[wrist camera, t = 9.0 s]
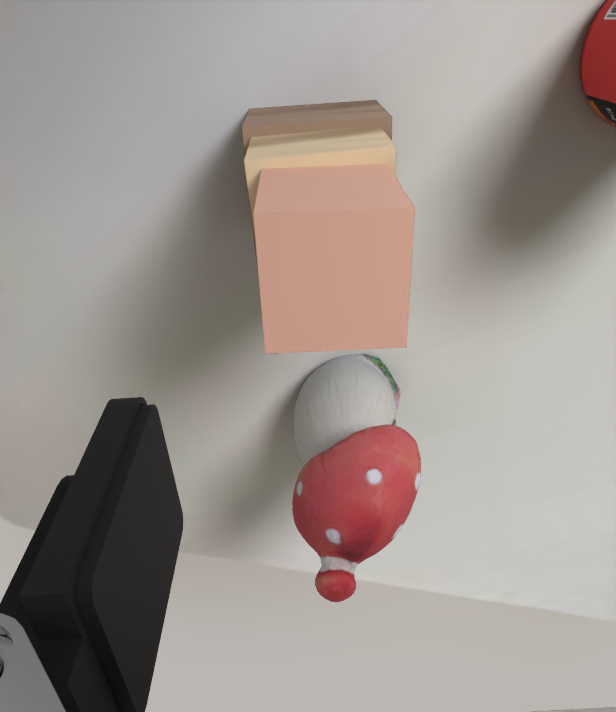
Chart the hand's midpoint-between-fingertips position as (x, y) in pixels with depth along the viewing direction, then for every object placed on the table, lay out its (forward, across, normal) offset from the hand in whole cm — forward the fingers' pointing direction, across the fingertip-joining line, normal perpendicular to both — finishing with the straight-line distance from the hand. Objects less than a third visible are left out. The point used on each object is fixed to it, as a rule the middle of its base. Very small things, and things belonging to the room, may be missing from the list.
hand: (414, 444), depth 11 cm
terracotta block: (+16, +1, +1) cm, 16 cm away
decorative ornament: (+26, 0, +17) cm, 32 cm away
